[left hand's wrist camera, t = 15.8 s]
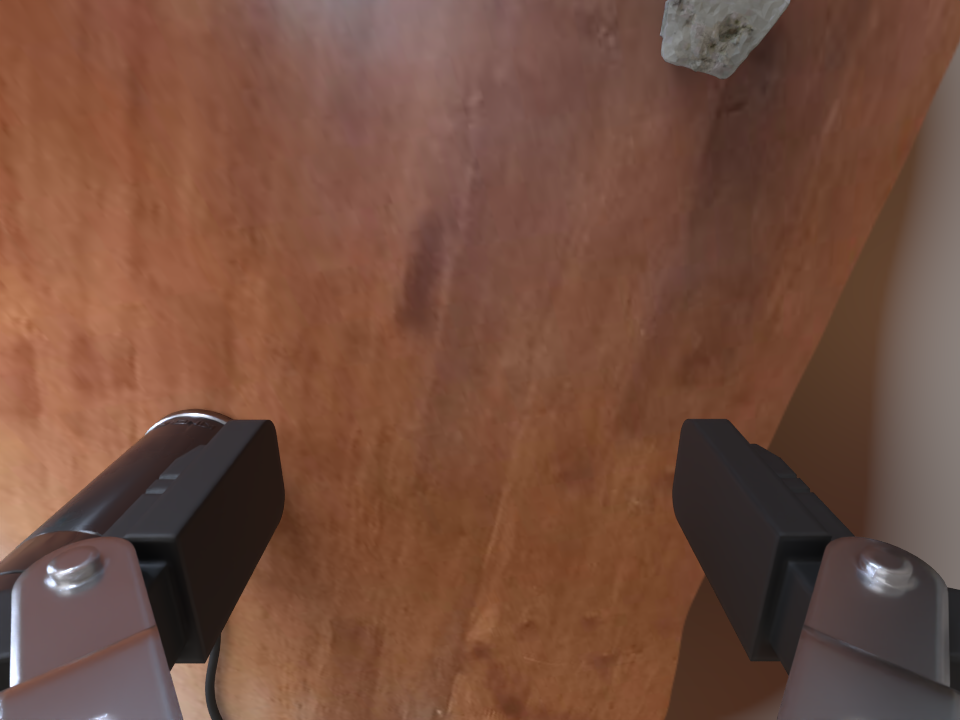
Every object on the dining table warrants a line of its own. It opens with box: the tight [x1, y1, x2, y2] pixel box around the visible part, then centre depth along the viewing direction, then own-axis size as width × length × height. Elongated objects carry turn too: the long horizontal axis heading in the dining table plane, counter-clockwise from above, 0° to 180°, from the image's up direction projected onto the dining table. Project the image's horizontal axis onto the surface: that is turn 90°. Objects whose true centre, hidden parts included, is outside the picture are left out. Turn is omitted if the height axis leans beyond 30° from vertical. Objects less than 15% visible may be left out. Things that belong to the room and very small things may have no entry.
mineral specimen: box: [660, 0, 790, 79], centre depth 30 cm, size 7×9×8 cm
